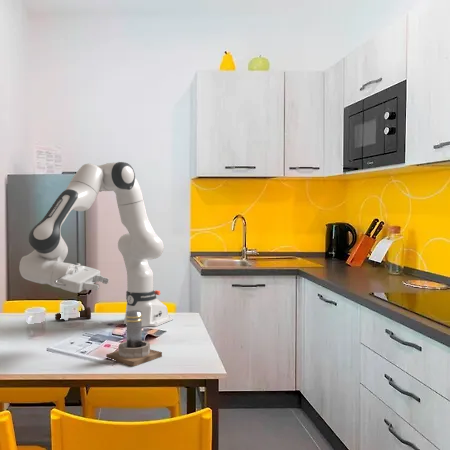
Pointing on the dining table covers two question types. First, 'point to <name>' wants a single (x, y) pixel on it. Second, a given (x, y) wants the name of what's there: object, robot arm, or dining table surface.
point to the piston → (134, 328)
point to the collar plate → (134, 360)
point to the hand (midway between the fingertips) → (103, 284)
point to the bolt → (82, 314)
